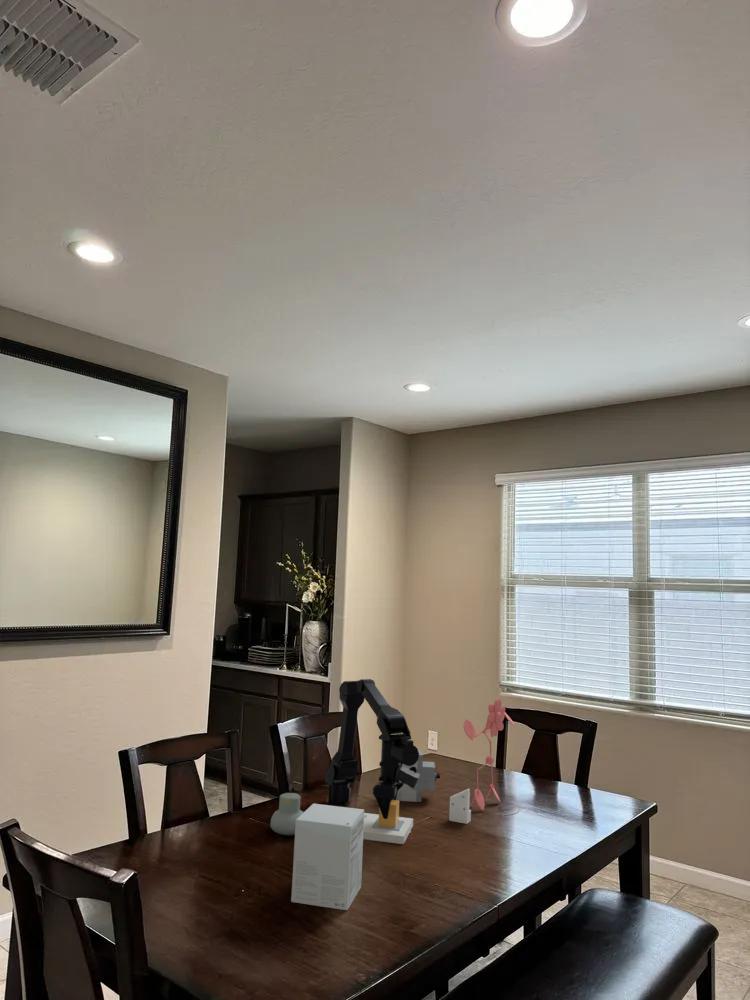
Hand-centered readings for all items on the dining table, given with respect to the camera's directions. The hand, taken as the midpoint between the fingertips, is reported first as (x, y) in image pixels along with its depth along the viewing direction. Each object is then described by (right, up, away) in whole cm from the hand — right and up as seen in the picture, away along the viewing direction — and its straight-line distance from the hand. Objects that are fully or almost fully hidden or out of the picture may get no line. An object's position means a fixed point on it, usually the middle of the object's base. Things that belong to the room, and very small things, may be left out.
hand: (388, 813), depth 199 cm
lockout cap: (0, -3, 0) cm, 3 cm away
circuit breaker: (+10, -10, +33) cm, 37 cm away
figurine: (+35, -10, +26) cm, 45 cm away
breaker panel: (-4, -5, 0) cm, 6 cm away
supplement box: (-15, +1, -43) cm, 46 cm away
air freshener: (-29, -4, -4) cm, 29 cm away
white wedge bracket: (+22, -8, +12) cm, 27 cm away
